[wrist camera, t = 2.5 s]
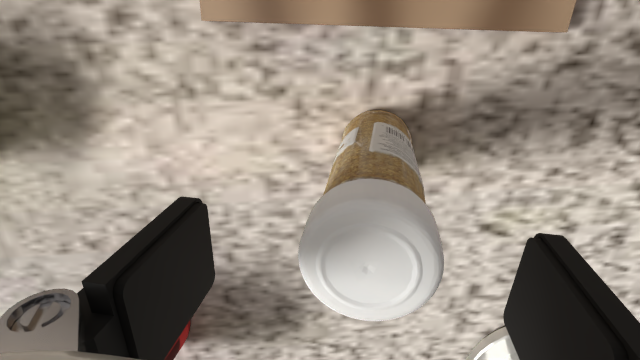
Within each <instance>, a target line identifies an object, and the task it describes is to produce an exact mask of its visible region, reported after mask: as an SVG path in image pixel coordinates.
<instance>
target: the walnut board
mask: <svg viewBox="0 0 640 360" xmlns="http://www.w3.org/2000/svg"><path fill="white" fill-rule="evenodd" d="M575 3H576V0H200V8H201V19H202V20H203V21H225V22H255V23H286V24H317V25H348V26H378V27H409V28H440V29H471V30H502V31H532V32H567V31H568V27H569V24H570V20H571V17H572V13H573V10H574V6H575Z"/></svg>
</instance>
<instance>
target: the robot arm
mask: <svg viewBox="0 0 640 360" xmlns="http://www.w3.org/2000/svg"><path fill="white" fill-rule="evenodd" d="M214 279H215V269H214V261H213V252H212V244H211V235H210V227H209V218H208V210H207V206H206V204H203V203H202V201H201V200H200V199H199V198H190V197H180V198H178V199H177V200H176V201H175V202H173V203H172V204H171V205H170V206H169V207H168V208H166V209H165V210H164V211H163V212H162V213H161V214H159V215H158V216H157V217H156V218H155V219H154V220H153V221H151V222H150V223H149V224H148V225H147V226H146V227H144V228H143V229H142V230H141V231H140V232H139V233H137V234H136V235H135V236H134V237H133V238H132V239H130V240H129V241H128V242H127V243H126V244H125V245H123V246H122V247H121V248H120V249H119V250H118V251H116V252H115V253H114V254H113V255H112V256H111V257H110V258H108V259H107V260H106V261H105V262H104V263H103V264H101V265H100V266H99V267H98V268H97V269H96V270H94V271H93V272H92V273H91V274H90V275H89V276H87V277H86V278H85V279H84V280H83V281H82V284H83V287H84V288H83V289H82V290H81V291H79V292H78V293H77V294H76V293H75V292H74V291H72V290H68V289H52V290H47V291H43V292H40V293H37V294H34V295H31V296H29V297H27V298H25V299H23V300H21V301H19V302H18V303H16V304H15V305H14V306H12V307H11V308H9V309H8V310H7V311H6V312H5V313H4V314H3V315H2V316H1V318H0V360H165V358H166V357H167V355H168V354H169V352H170V350H171V349H172V347H173V346H174V344H175V343H176V341H177V340H178V338H179V336H180V335H181V333H182V332H183V330H184V329H185V327H186V325H187V324H188V322H189V321H190V319H191V318H192V316H193V315H194V313H195V311H196V310H197V308H198V307H199V305H200V304H201V302H202V301H203V299H204V297H205V296H206V294H207V293H208V291H209V290H210V288H211V287H212V285H213V282H214ZM504 323H505V327H503V328H501V329H499V330H496V331H494V332H493V333H491V334H490V335H488V336H487V337H485V338H484V339H482V340H481V341H480V342H479V343H478V344H477V345H476V346H475V347H474V348H473V349H472V351H471V352H470V354H469V355H468V357H467V358H466V360H640V323H639V322H638V320H637V319H636V318H635V317H634V316H633V315H632V314H631V312H630V311H629V310H628V309H627V308H626V307H625V306H624V304H623V303H622V302H621V301H620V300H619V299H618V298H617V296H616V295H615V294H614V293H613V292H612V291H611V290H610V288H609V287H608V286H607V285H606V284H605V283H604V282H603V280H602V279H601V278H600V277H599V276H598V275H597V274H596V272H595V271H594V270H593V269H592V268H591V267H590V266H589V264H588V263H587V262H586V261H585V260H584V259H583V258H582V256H581V255H580V254H579V253H578V252H577V251H576V250H575V248H574V247H573V246H572V245H571V244H570V243H569V242H568V240H567V239H566V238H565V237H564V236H561V235H552V234H542V233H538V234H536V236H535V237H534V238H529V239H528V240H527V243H526V246H525V249H524V252H523V255H522V258H521V261H520V264H519V267H518V270H517V273H516V277H515V280H514V283H513V286H512V289H511V292H510V295H509V298H508V301H507V304H506V307H505V310H504Z"/></svg>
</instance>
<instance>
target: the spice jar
mask: <svg viewBox="0 0 640 360" xmlns="http://www.w3.org/2000/svg"><path fill="white" fill-rule="evenodd" d="M298 260H299V266H300V271H301V274H302V276H303V279H304V281H305V282H306V284H307V286H308V288H309V289H310V290H311V291H312V293H313V294H314V295H315V296H316V297H317V298H318V299H319V300H320V301H321V302H322V303H323V304H325V305H326V306H327V307H329V308H331V309H332V310H334V311H336V312H338V313H340V314H343V315H345V316H348V317H351V318H355V319H359V320H365V321H387V320H392V319H396V318H400V317H403V316H405V315H408V314H410V313H412V312H414V311H416V310H417V309H419V308H420V307H422V306H423V305H424V304H425V303H426V302H427V301H428V300H429V299H430V298H431V297H432V296H433V294H434V293H435V291H436V290H437V288H438V286H439V284H440V282H441V279H442V275H443V270H444V255H443V249H442V244H441V239H440V235H439V231H438V228H437V224H436V221H435V219H434V216H433V214H432V212H431V211H430V209H429V208H428V206H427V205H426V203H425V195H424V187H423V183H422V179H421V175H420V172H419V168H418V164H417V161H416V157H415V153H414V150H413V146H412V138H411V134H410V132H409V129H408V127H407V126H406V124H405V123H404V122H403V121H402V120H401V119H400V118H399V117H397V116H396V115H394V114H392V113H390V112H386V111H382V110H376V111H375V110H373V111H366V112H364V113H362V114H360V115H358V116H357V117H355V118H354V119H353V120H352V121H351V122H350V123H349V124H348V125H347V127H346V129H345V131H344V134H343V137H342V142H341V144H340V147H339V149H338V152H337V155H336V158H335V160H334V163H333V166H332V169H331V172H330V175H329V179H328V183H327V186H326V189H325V192H324V194H323V196H322V197H321V198H320V199H319V200H318V201H317V203H316V204H315V206H314V207H313V209H312V211H311V213H310V215H309V218H308V220H307V222H306V225H305V228H304V231H303V234H302V237H301V240H300V244H299V251H298Z"/></svg>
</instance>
